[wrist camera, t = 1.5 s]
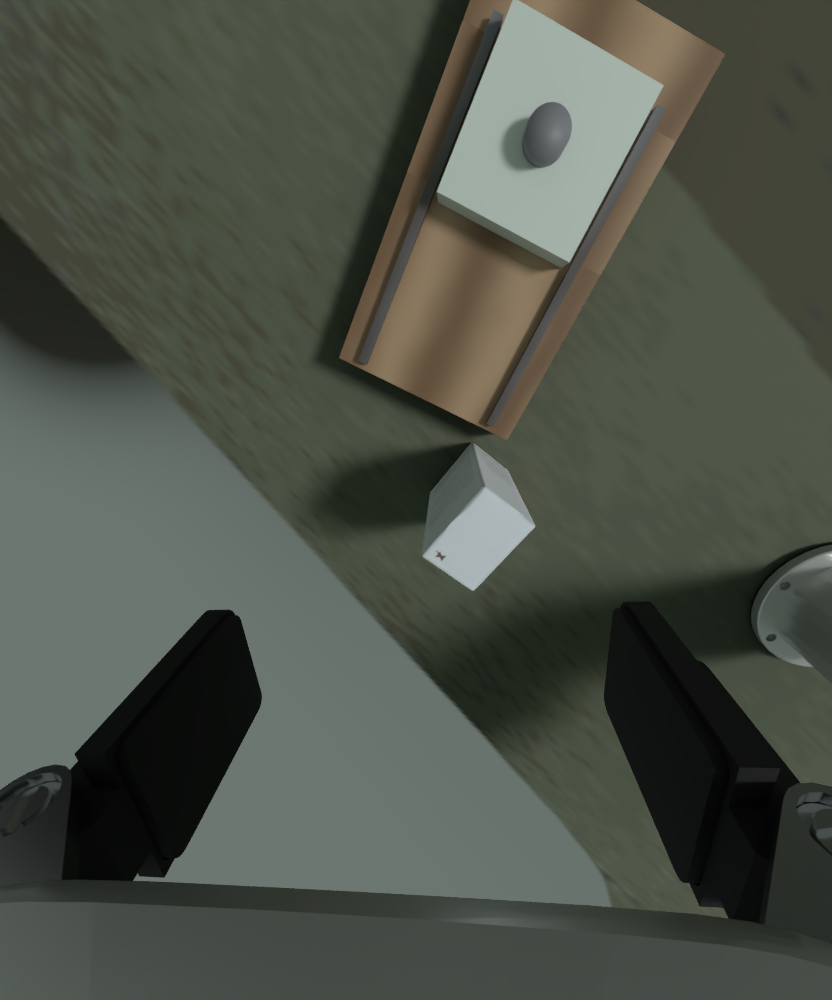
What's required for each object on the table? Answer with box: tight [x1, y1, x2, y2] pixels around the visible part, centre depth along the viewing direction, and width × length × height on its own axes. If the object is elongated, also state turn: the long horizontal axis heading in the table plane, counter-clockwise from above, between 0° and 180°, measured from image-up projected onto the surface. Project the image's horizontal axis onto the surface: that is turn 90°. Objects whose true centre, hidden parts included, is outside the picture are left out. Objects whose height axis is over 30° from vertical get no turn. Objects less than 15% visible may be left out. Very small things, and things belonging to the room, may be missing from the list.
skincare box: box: [422, 443, 535, 591], centre depth 30 cm, size 6×4×12 cm
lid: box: [437, 0, 664, 268], centre depth 23 cm, size 9×9×3 cm
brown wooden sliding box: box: [339, 0, 725, 440], centre depth 27 cm, size 14×24×4 cm, turn 155°
